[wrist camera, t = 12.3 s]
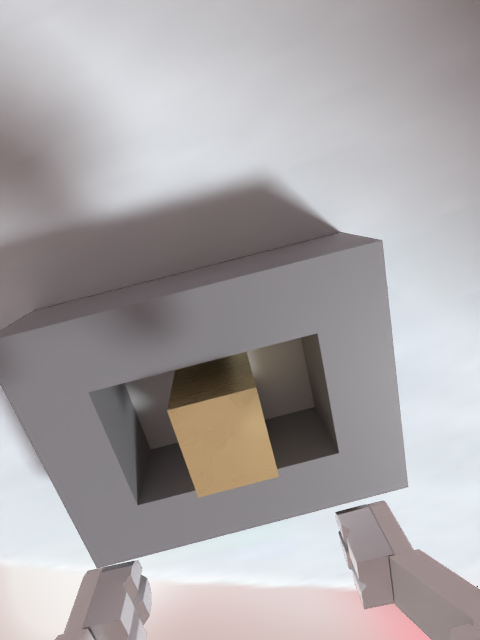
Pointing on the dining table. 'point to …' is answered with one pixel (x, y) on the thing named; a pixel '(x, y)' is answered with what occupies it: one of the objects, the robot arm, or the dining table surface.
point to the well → (198, 347)
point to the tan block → (221, 425)
